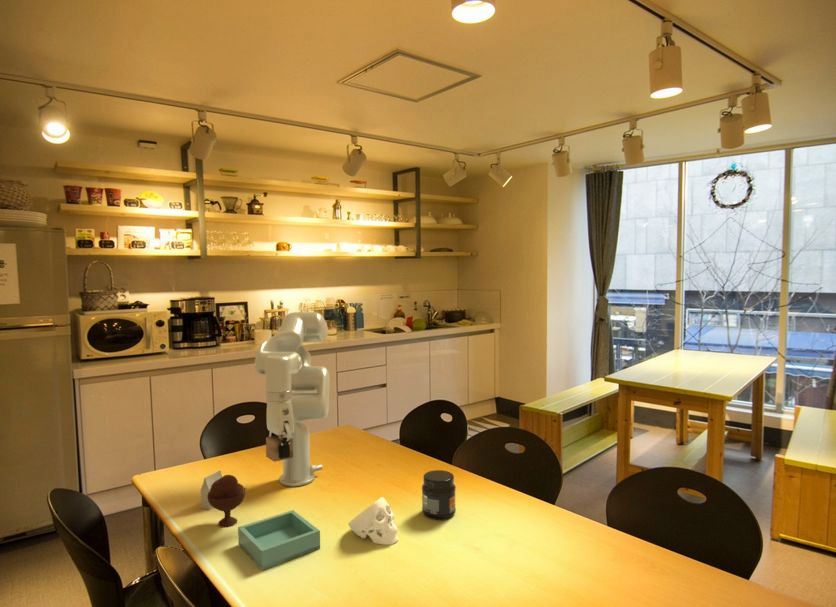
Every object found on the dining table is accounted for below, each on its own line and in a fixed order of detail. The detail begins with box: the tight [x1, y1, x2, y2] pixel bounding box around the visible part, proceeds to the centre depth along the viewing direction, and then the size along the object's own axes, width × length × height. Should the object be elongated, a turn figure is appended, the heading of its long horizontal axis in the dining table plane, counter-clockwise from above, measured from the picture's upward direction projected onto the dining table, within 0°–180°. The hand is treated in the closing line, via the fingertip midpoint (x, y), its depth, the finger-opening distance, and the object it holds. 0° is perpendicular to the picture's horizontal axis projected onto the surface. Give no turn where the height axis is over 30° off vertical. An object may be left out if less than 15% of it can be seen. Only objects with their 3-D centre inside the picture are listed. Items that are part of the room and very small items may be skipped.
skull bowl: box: [347, 496, 399, 546], centre depth 150 cm, size 10×14×12 cm
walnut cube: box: [265, 435, 293, 463], centre depth 160 cm, size 6×6×6 cm
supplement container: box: [421, 469, 457, 521], centre depth 164 cm, size 10×10×12 cm
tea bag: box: [200, 470, 223, 510], centre depth 171 cm, size 4×7×10 cm, turn 158°
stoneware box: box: [237, 509, 321, 571], centre depth 144 cm, size 16×16×5 cm
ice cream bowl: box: [207, 474, 247, 528], centre depth 158 cm, size 11×11×15 cm
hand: (279, 454), depth 160 cm, fingers closed on walnut cube, 6 cm apart
